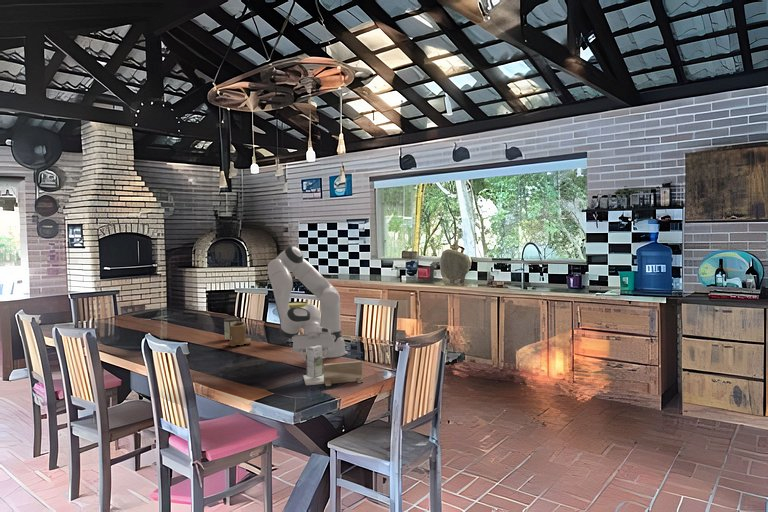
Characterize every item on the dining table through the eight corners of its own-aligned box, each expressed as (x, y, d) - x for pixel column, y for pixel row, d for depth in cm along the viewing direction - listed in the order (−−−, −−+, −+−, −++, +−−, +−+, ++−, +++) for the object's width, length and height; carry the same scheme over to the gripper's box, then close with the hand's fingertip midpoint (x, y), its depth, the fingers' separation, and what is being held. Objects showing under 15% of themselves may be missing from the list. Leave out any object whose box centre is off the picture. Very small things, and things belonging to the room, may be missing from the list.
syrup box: (315, 373, 253) (314, 344, 252) (323, 375, 249) (322, 345, 249) (306, 376, 249) (305, 346, 248) (314, 378, 245) (313, 347, 244)
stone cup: (231, 348, 323) (230, 324, 322) (226, 345, 333) (225, 322, 333) (255, 345, 331) (254, 322, 330) (249, 342, 341) (248, 319, 340)
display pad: (303, 377, 255) (303, 375, 255) (323, 375, 258) (323, 373, 257) (305, 385, 242) (305, 383, 242) (327, 383, 244) (327, 381, 244)
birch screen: (323, 383, 244) (323, 364, 244) (361, 379, 249) (361, 361, 248) (325, 386, 240) (324, 366, 239) (363, 382, 244) (363, 363, 244)
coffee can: (233, 337, 358) (232, 317, 358) (243, 338, 353) (242, 318, 352) (221, 340, 350) (220, 319, 349) (231, 341, 344) (231, 320, 343)
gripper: (291, 331, 253) (292, 356, 244) (333, 329, 257) (335, 353, 248) (291, 338, 258) (292, 363, 249) (332, 336, 262) (335, 360, 253)
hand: (314, 358), depth 248 cm, fingers closed on syrup box, 8 cm apart
